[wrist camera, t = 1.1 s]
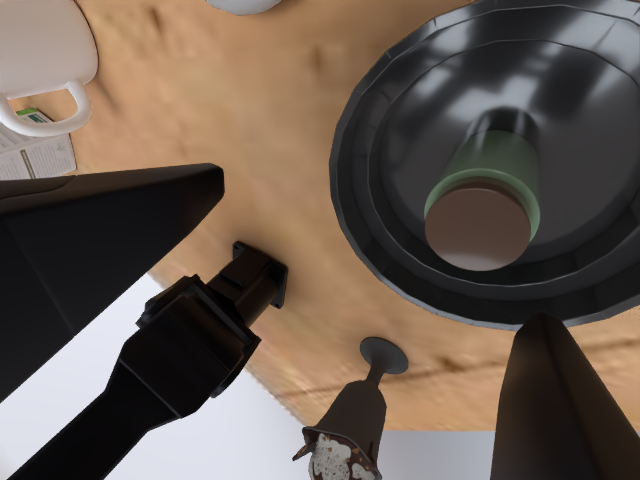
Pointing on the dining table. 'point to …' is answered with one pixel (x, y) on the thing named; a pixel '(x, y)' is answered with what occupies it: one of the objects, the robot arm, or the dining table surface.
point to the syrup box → (34, 152)
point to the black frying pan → (512, 116)
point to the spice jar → (485, 202)
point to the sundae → (354, 421)
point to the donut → (243, 6)
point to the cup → (45, 60)
